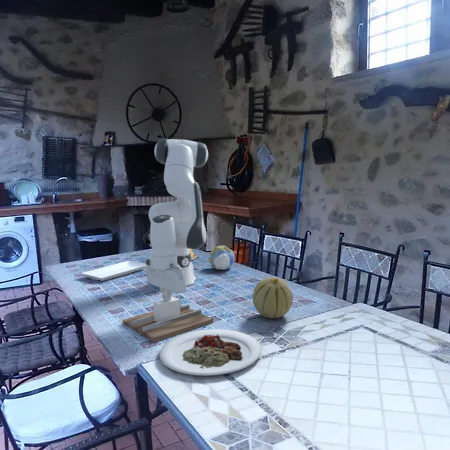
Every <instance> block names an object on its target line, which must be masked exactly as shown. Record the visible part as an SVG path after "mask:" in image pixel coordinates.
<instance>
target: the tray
mask: <svg viewBox="0 0 450 450" xmlns="http://www.w3.org/2000/svg"><path fill="white" fill-rule="evenodd" d="M146 266H147V265H146V264H145V263H141V262H136V261H131V260H127V261H122V262H118V263H114V264H110V265H107V266H103V267H100V268H99V267H98V268H96V269H92V270H88V271H84V272H81V275H82V276H83V277H86V278H89V279H90V278H91V279H90V280H94V279H96V280H95V281H98V280H100V281H99V282H105V280H106V281H109V279H110V280H112V278H113V279H116V278H119V276H120V277H123V276H127V275H130V274H133V273H132V272H134V273H136V272H135V271H137V272H140V271H142V270H143V269H146ZM139 270H140V271H139ZM129 273H130V274H129ZM126 274H127V275H126ZM122 275H123V276H122ZM115 277H116V278H115Z"/></svg>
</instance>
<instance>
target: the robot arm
mask: <svg viewBox="0 0 450 450" xmlns="http://www.w3.org/2000/svg"><path fill="white" fill-rule="evenodd" d="M154 157H155V160H156V161H157V162H158V163H160V164H163V165H164V171H163V181H164V185H165V186H166V190H167V192H168V194H169V195H171V196H173V197H175V198H176V200H175V201H167V202H166V201H165V202H160V203H159V202H158V203H156V204H153V205H151V206H150V207H149V210H148V218H149V221H150V227H149V228H150V229H149V230H150V231H149V234H150V235H149V236H150V238H149V239H150V245H151V253H150V254H151V257H148V258H145V260H144V264H146V265H147V266H146V267H145V273H146V280H147V283H148V284H150V285H153V286H156V287H158V288H159V291H160V294H161V297H162V298H161V299H163V300H166V301H170V300H171V297H172V294H176V295H177V294H178V295H179V294H182V293H185V292H186V289H187V286H190V285H194V283H195V281H196V280H197V277H196V276H195V272H194V265H193V263H192V262H191V261H192V260H191V253H190V249H192V250H195V251H196V250H199V249H201V248H202V247H203V246H204V245H205V244H206V242H207V231H206V230H207V229H206V225H205V216H204V206H203V197H202V190H201V187H200V185H199V182H197V181H195V178H194V168H202V167H204V166H205V165H206V163H207V161H208V159H209V151H208V148H207V145H206V144H205V143H202V142H201V141H198V142H197V141H193V140H189V139H179V138H178V139H177V138H175V139H174V138H173V139H172V138H171V139H170V138H169V139H168V138H160V139H159V140H157V141H156V144H155V146H154Z"/></svg>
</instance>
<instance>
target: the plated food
mask: <svg viewBox="0 0 450 450" xmlns="http://www.w3.org/2000/svg"><path fill="white" fill-rule="evenodd" d="M158 354H159V355H158V356H159V359H160V362H162V364H163V365H164V366H166V367H167V368H168V369H170V370H173V371H174V372H176V373H181V374H185V375H191V376H220V375H226V374H231V373H234V372H239V371H241V370H243V369H246V368H248V367H249V366H251V365H252V364H255V362H256V361H258V359H259V358H260V356H261V354H262V347H261V343H259V341H258V340H257V339H255V338H254V337H252V336H251V335H249V334H246V333H244V332H242V331H237V330H233V329H232V330H230V329H223V328H222V329H220V328H219V329H218V328H217V329H216V328H215V329H213V328H211V329H200V330H195V331H191V332H190V331H188V332H185V333H181V334H178V335H176V336H175V337H172V338H171V339H169V340H168V341H167V342H165V343H164V344H163V345H162V346H161V348H160V349H159V353H158Z"/></svg>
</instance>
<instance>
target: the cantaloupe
mask: <svg viewBox="0 0 450 450" xmlns="http://www.w3.org/2000/svg"><path fill="white" fill-rule="evenodd" d="M293 297H294V296H293V292H292V289H291V287H290V286H289V284H288V283H287V282H286V281H285V280H284V279H282V278H280V277H278V276H277V277H276V276H271V277H265V278H263V279H262V280H260V281H259V282H257V284H256V285H255V287H254V289H253V292H252V303H253V307H254V308H255V310H256V312H257V313H258V314H260V315H261V316H262V317H265V318H268V319H279V318H281V317H284V316H286V314H287V313H289V311H290V310H291V307H292V305H293V300H294V298H293Z"/></svg>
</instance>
